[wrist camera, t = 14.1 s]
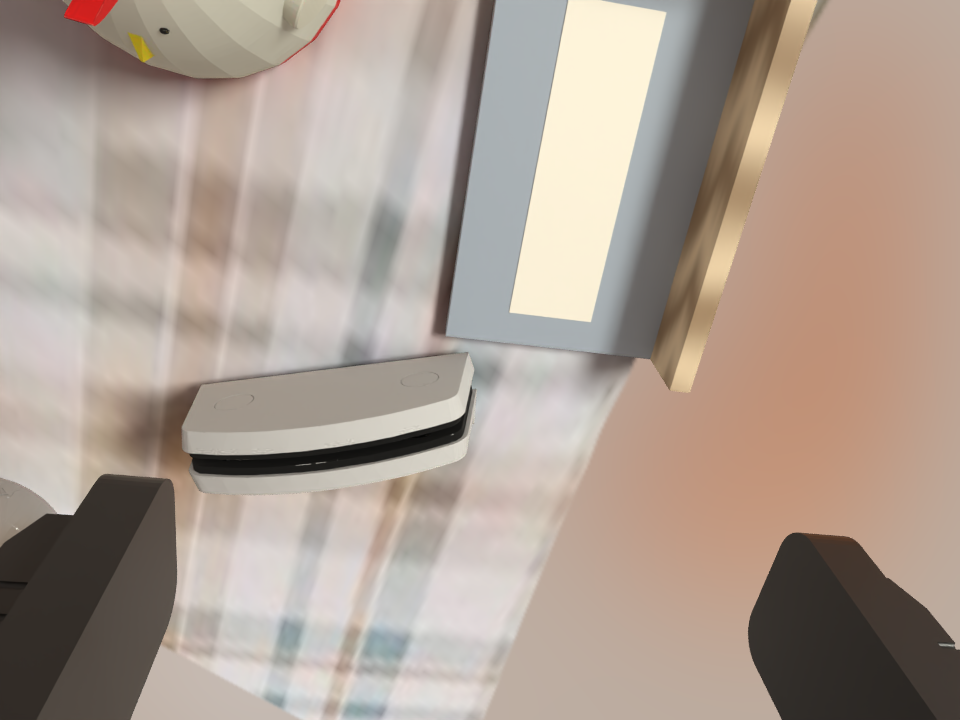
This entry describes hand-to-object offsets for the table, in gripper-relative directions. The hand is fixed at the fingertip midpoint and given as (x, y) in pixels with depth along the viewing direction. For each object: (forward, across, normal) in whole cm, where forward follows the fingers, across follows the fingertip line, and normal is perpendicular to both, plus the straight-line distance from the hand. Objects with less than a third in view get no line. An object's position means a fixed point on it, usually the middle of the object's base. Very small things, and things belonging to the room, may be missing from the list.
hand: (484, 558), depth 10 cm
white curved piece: (+34, +4, +17) cm, 38 cm away
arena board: (+33, -9, 0) cm, 34 cm away
